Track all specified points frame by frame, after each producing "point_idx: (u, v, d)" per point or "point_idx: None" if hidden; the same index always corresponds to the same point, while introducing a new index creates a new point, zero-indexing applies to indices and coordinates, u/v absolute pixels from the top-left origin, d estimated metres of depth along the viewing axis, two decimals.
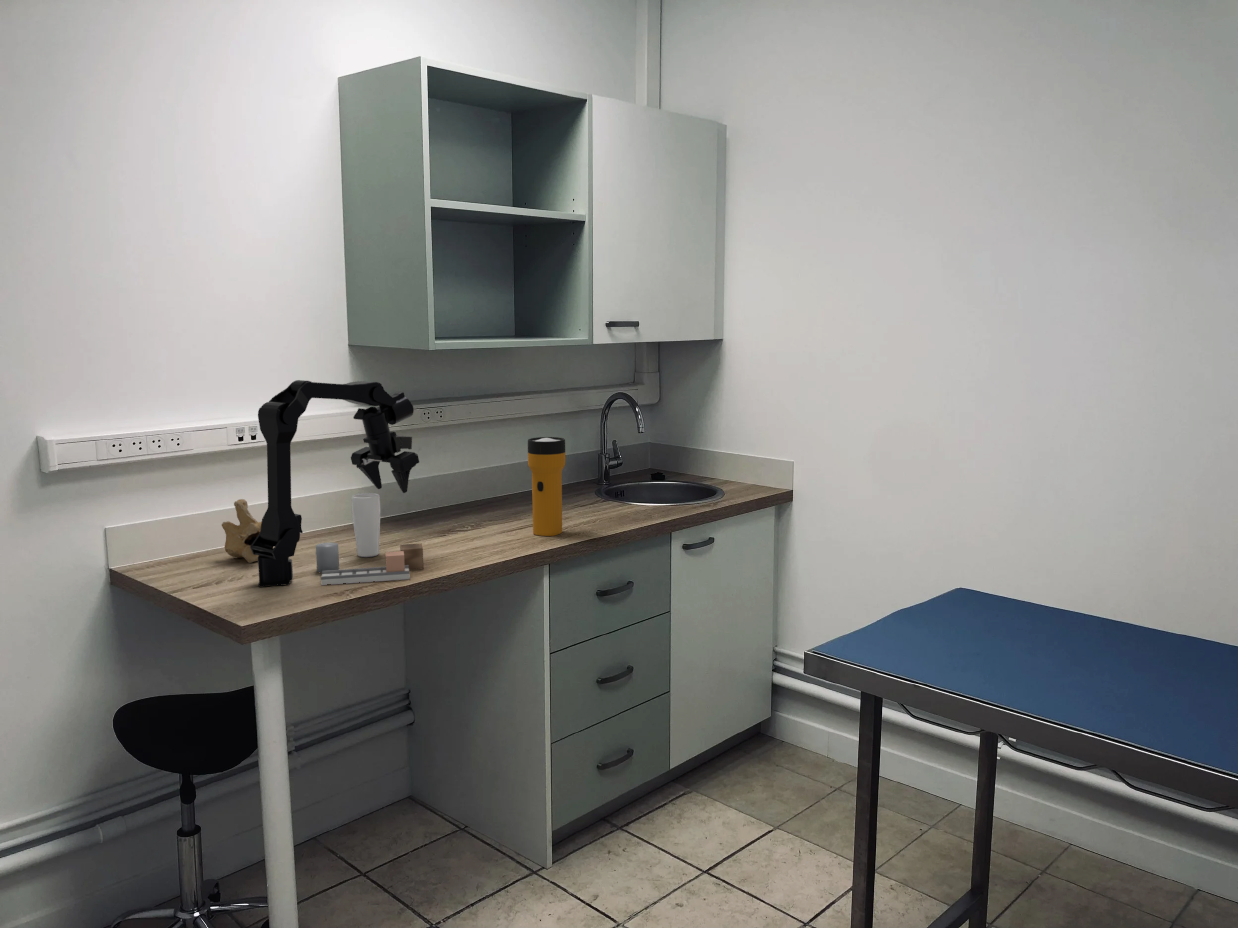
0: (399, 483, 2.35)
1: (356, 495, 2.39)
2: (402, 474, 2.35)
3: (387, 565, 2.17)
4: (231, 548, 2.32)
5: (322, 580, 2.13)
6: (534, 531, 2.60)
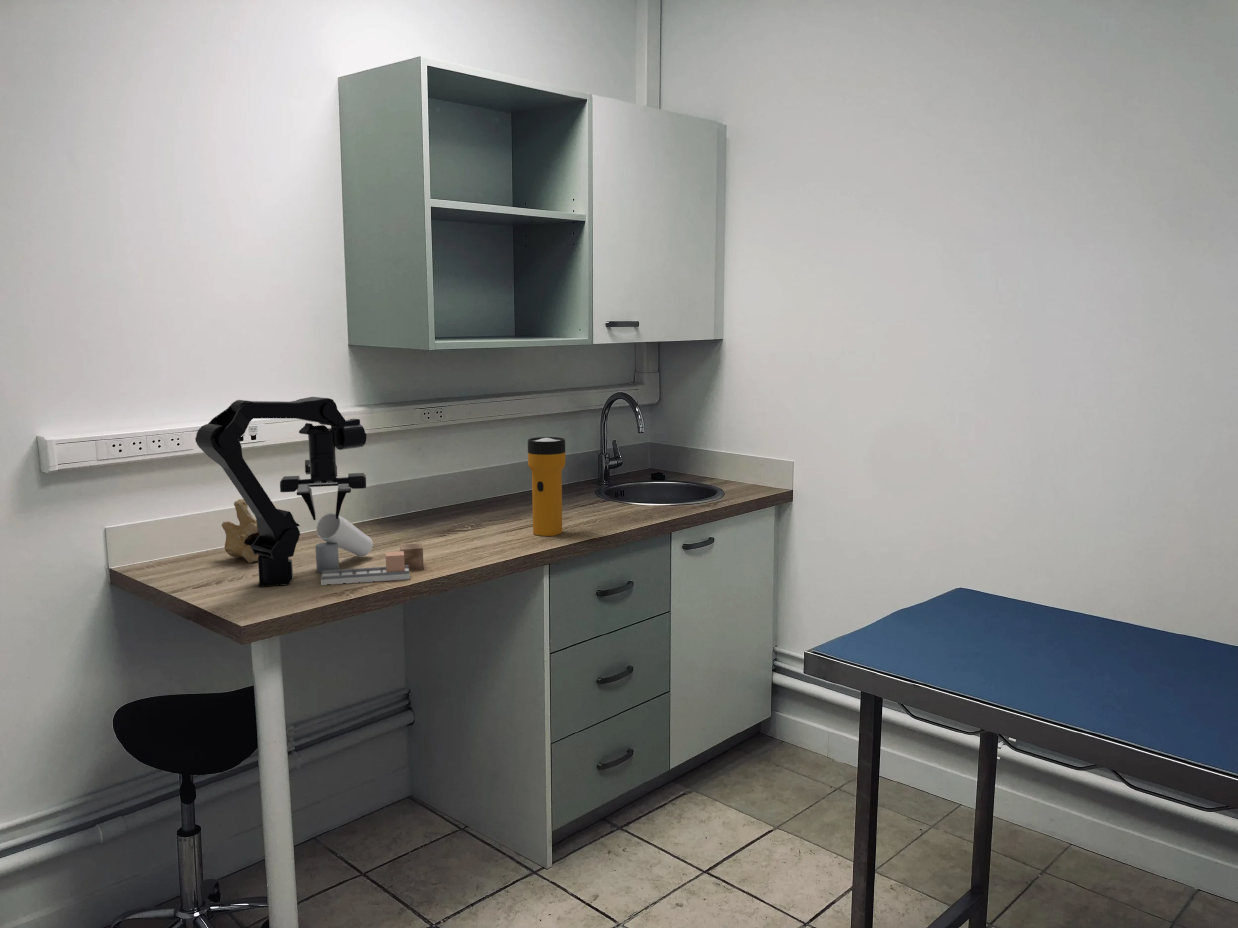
0: (339, 506, 2.23)
1: (318, 525, 2.27)
2: None
3: (387, 565, 2.17)
4: (231, 548, 2.32)
5: (322, 580, 2.13)
6: (534, 531, 2.60)
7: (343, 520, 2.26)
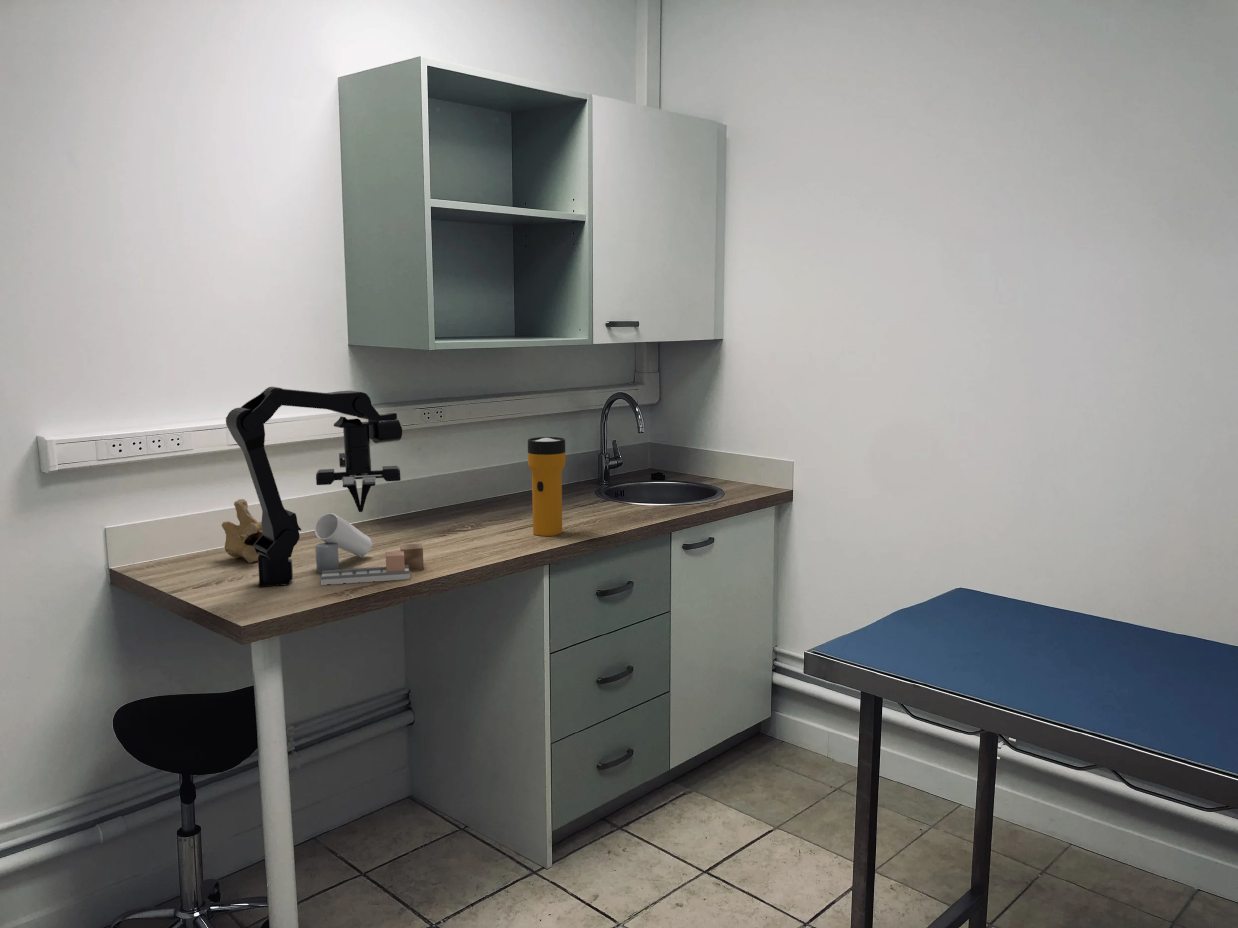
0: (364, 499, 2.25)
1: (316, 526, 2.27)
2: None
3: (387, 565, 2.17)
4: (231, 548, 2.32)
5: (322, 580, 2.13)
6: (534, 531, 2.60)
7: (341, 519, 2.27)
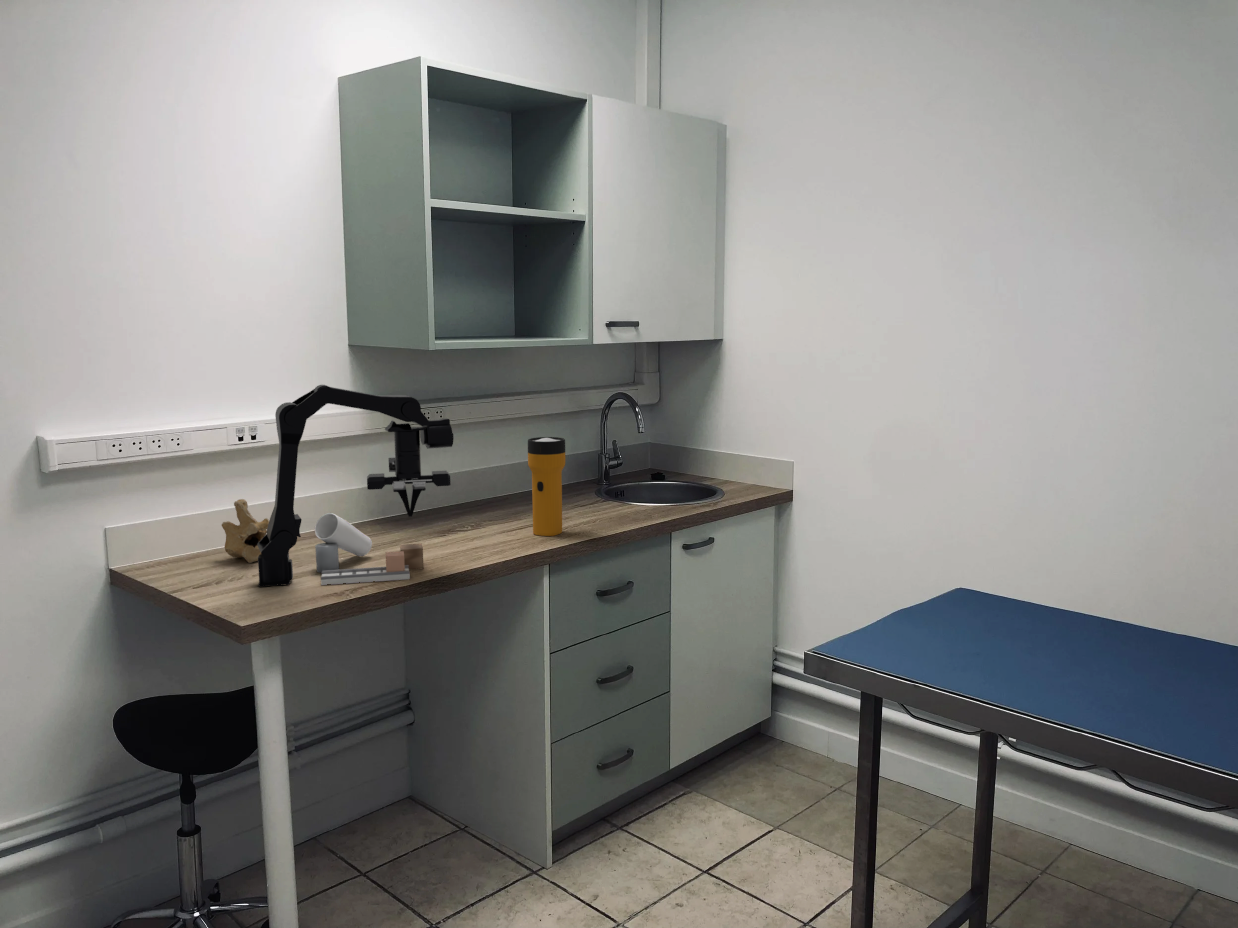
0: (414, 504, 2.25)
1: (316, 526, 2.27)
2: None
3: (387, 565, 2.17)
4: (231, 548, 2.32)
5: (322, 580, 2.13)
6: (534, 531, 2.60)
7: (341, 519, 2.27)
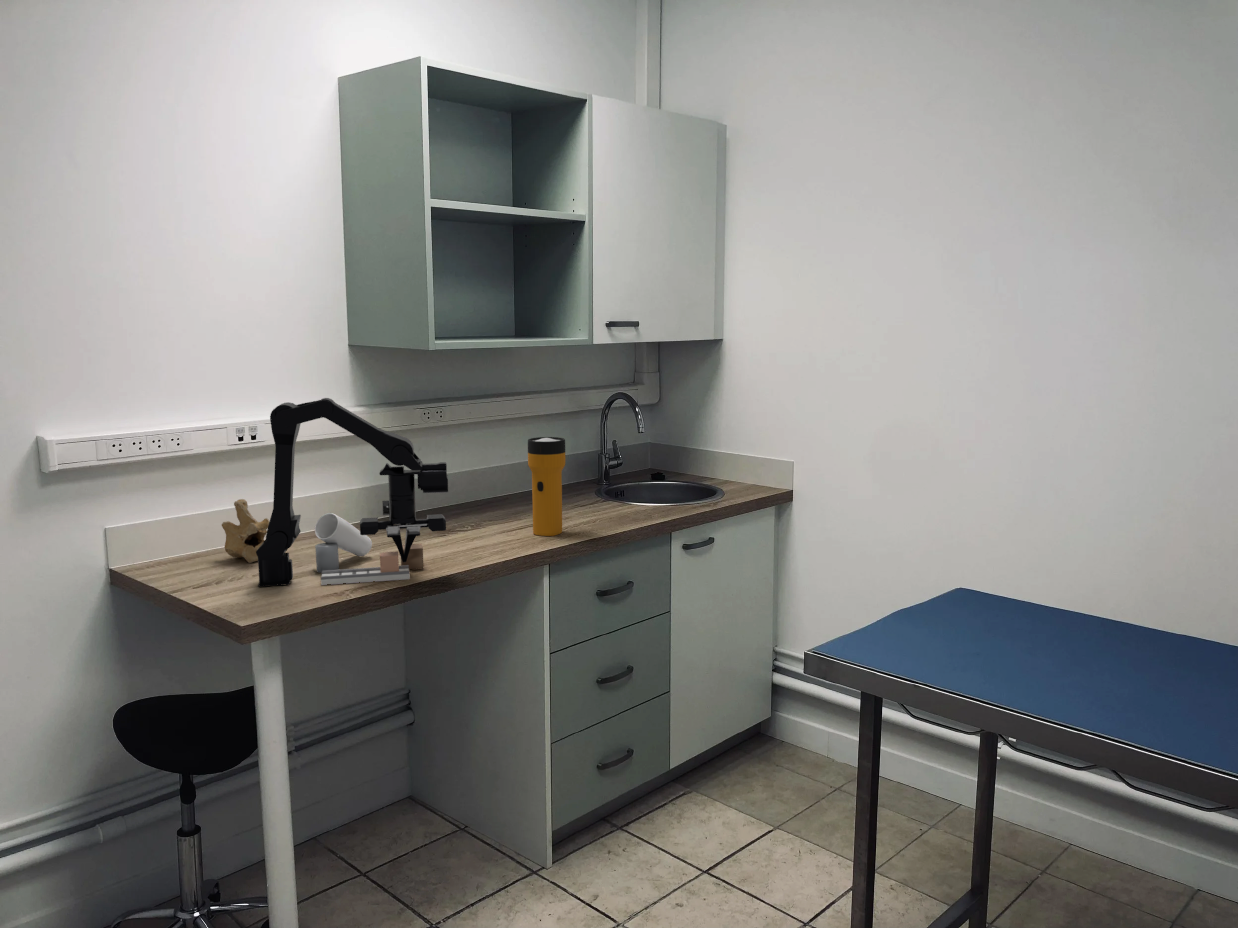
0: (408, 549, 2.18)
1: (316, 526, 2.27)
2: None
3: (381, 565, 2.17)
4: (231, 548, 2.32)
5: (322, 580, 2.13)
6: (534, 531, 2.60)
7: (341, 519, 2.27)
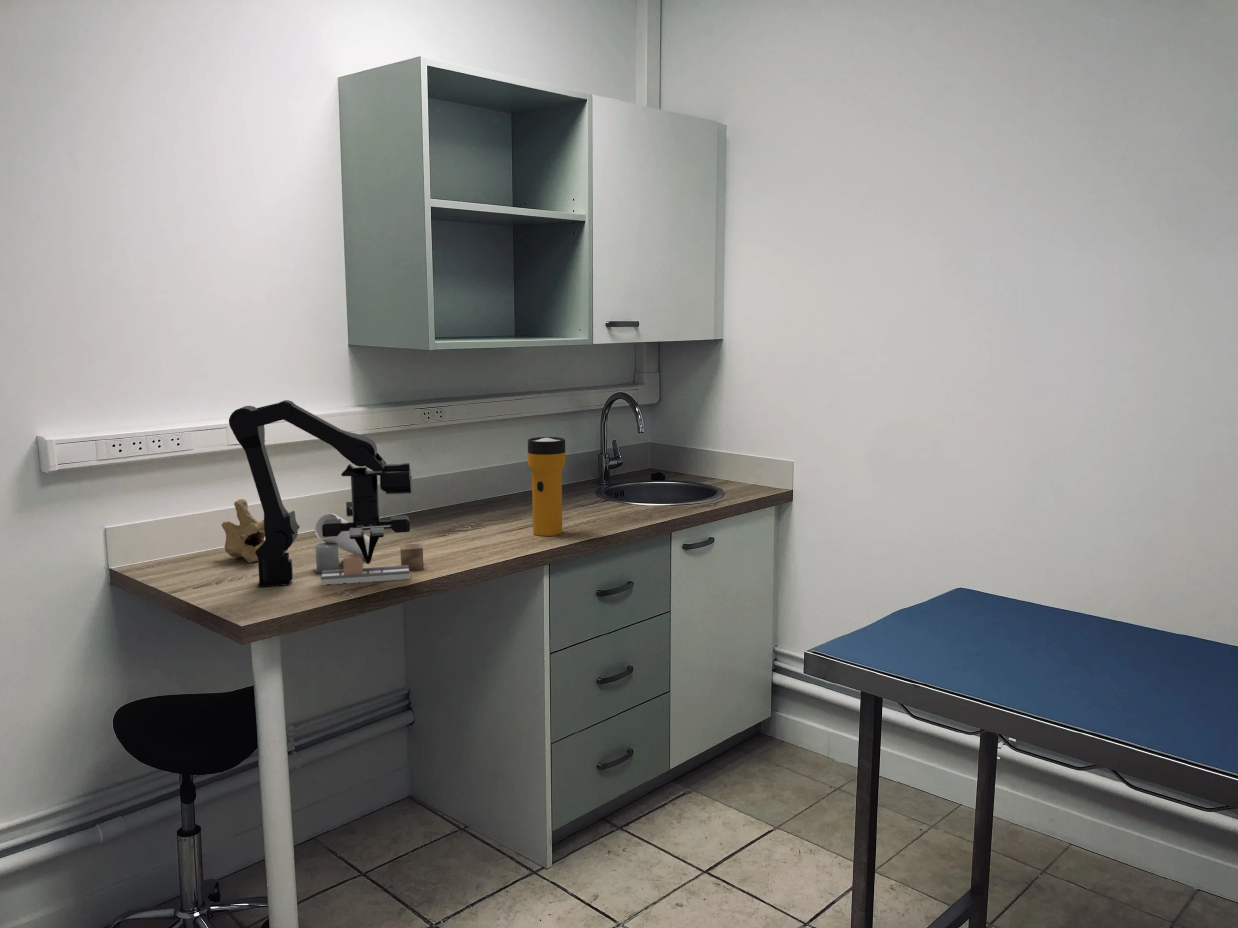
0: (372, 551, 2.16)
1: (316, 526, 2.27)
2: None
3: (344, 568, 2.15)
4: (231, 548, 2.32)
5: (322, 580, 2.13)
6: (534, 531, 2.60)
7: (341, 519, 2.27)
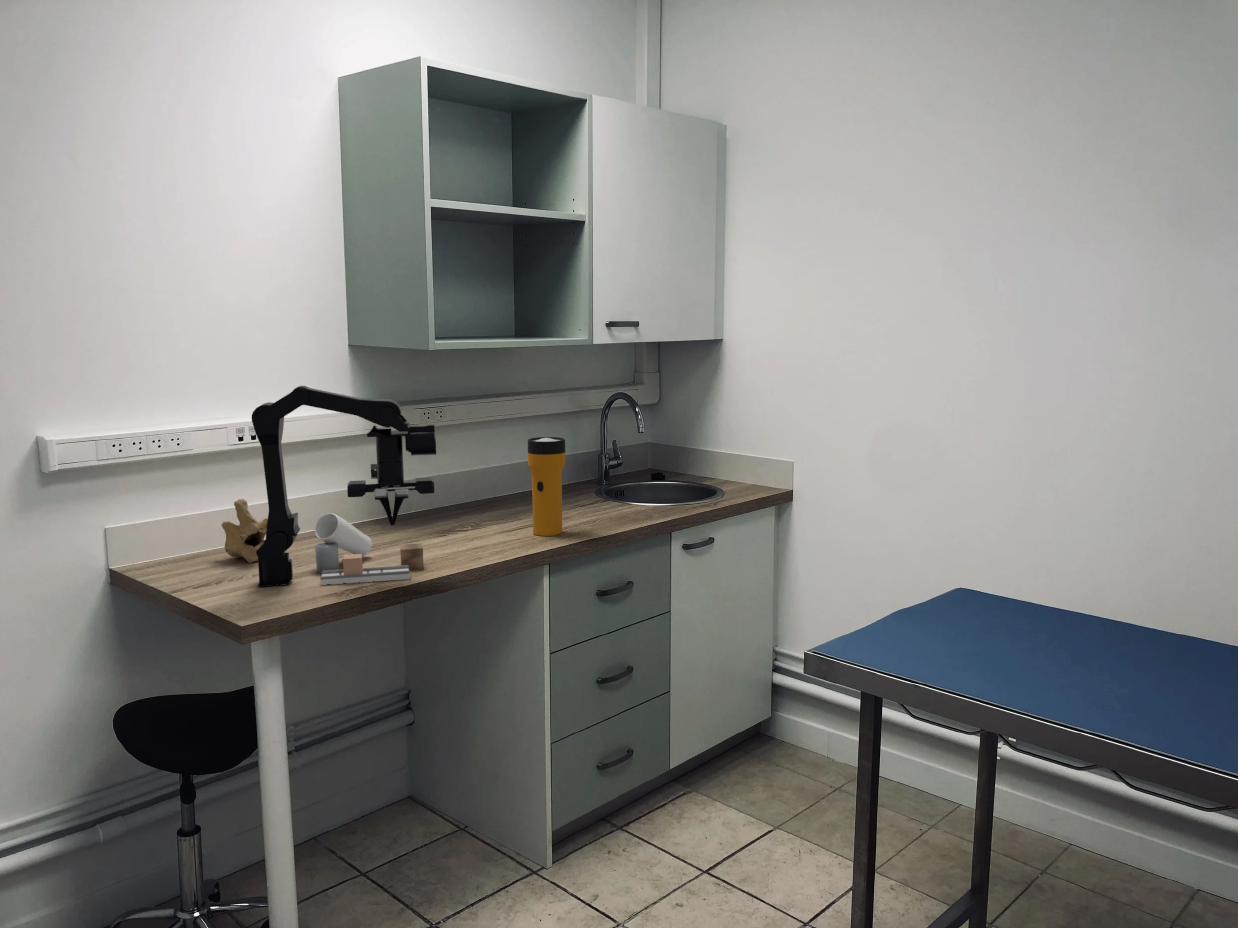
0: (396, 512, 2.16)
1: (316, 526, 2.27)
2: None
3: (344, 568, 2.15)
4: (231, 548, 2.32)
5: (322, 580, 2.13)
6: (534, 531, 2.60)
7: (341, 519, 2.27)
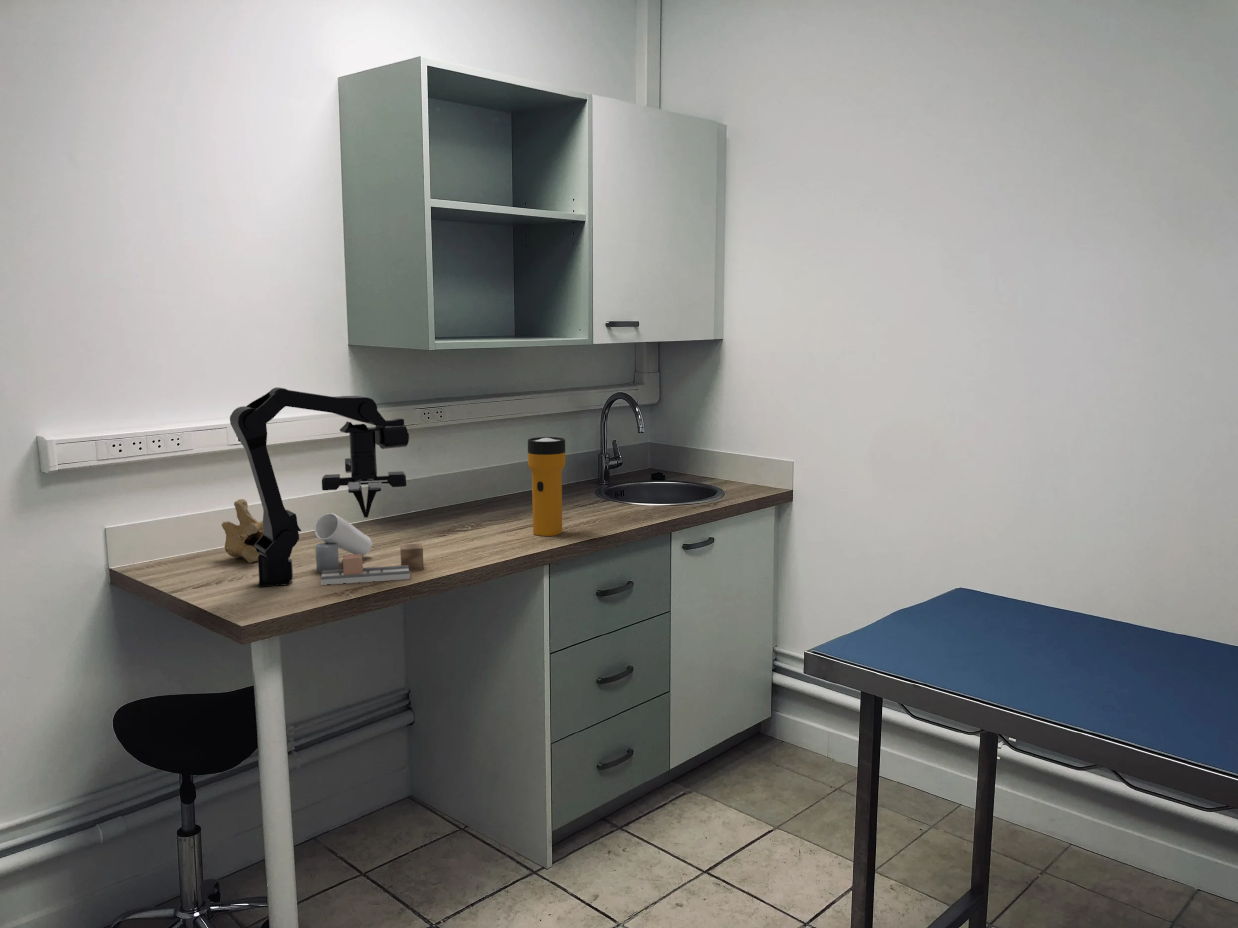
0: (369, 505, 2.24)
1: (316, 526, 2.27)
2: None
3: (344, 568, 2.15)
4: (231, 548, 2.32)
5: (322, 580, 2.13)
6: (534, 531, 2.60)
7: (341, 519, 2.27)
